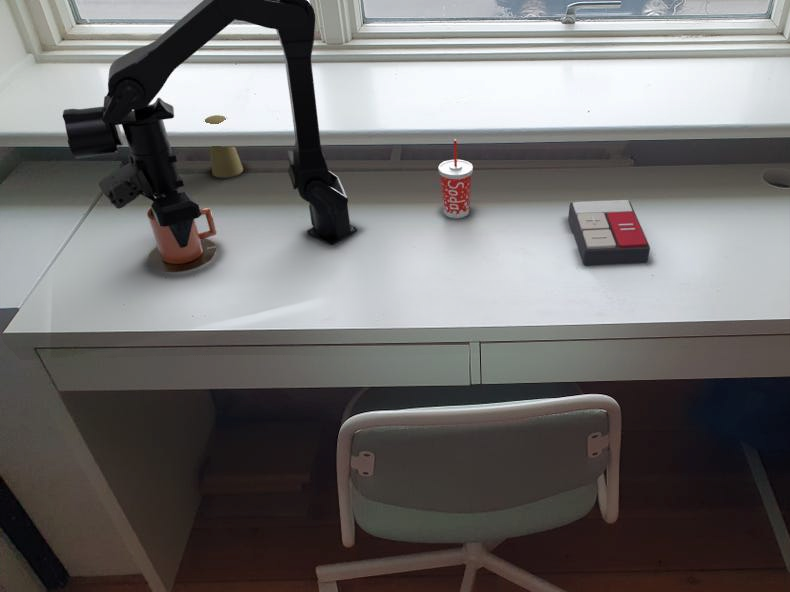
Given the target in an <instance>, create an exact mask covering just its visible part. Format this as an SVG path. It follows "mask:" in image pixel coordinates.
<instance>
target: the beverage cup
mask: <svg viewBox="0 0 790 592" xmlns="http://www.w3.org/2000/svg"><path fill="white" fill-rule="evenodd" d="M437 169H438V173H439V175H440V185H441V194H442V204H443V205H442V206H443V214H444V215H445V216H446V217H447V218H451V219H463V218H465V217H467V216H469V213H470V199H471V186H472V174H473V172H474V171H473V170H474V166H473V164H472V163H471V162H469V161H467V160H464V159H458V144H457V139H453V159H447V160H444V161H442V162H441V163H440V164H439V165H438V168H437Z"/></svg>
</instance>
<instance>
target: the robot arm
mask: <svg viewBox="0 0 790 592" xmlns="http://www.w3.org/2000/svg"><path fill="white" fill-rule="evenodd" d="M234 21H241V22H246V23H249V24H252V25H256V26H260V27H262V28H266V29H272V30H276V34H277V37H278V40H279V44H280V46H281V50H282V52H283V57H284V63H285V64H284V65H285V71H286V79H287V87H288V95H289V101H290V109H291V118H292V124H293V132H294V139H295V140H294V143H295V144H294V147H293V150H285V154H286V157H287V160H288V170H287V172H288V175H289V179H290V181H291V184H292V188H293V190H297V192H298V194H299V197H300V198H301V199H303V200H304V201H305V202H307V203H309V205H308V208H309V214H310V221H311V226H312V227H310V228H309V229H307V230H306V234H307V235H309V236H311V237H313V238H315V239H317V240H319V241H322V242H324V243H326V244H328V245H330V246H331V245H335V244H338V242H340V241H342V240H344V239H345V238H347V237H349V236H350V235H352V234H354V233H356V232H357V231H358V227H357V226H356V225H353V224H351V223H350V222H351V221H350V215H349V206H348V203H349V198H348V196H347V193H346V191H345V189H344V187H343V185H342V182H341V180H340V178H339V176H337V175H336V174H335V173H333V172H332V171H330V170H329V167H328V164H327V161H326V158H325V155H324V151H323V149H322V145H321V137H320V135H321V134H320V127H319V118H318V109H317V101H316V100H317V99H316V91H315V82H314V73H313V66H312V65H313V64H312V54H313V48H314V43H315V32H316V14H315V9H314V7H313V6H312V3H311V2H310V0H202V1H201V2H199V3H198V4H197V5H196V6H195V7H194V8H193V9H191V10H190V11H189V12H188V13H187V14H186V15H184V16H182V18H181V19H179V20H178V21H176V23H174V25H172V26H171V27H170V28H169V29H167V30H166V31H165V32H163V34H161V35H160V36H159V37H158V38H157V39H155V40H154V41H152V42H150V43H148V44H146V45H144V46H141V47H137V48H135V49H133V50H131V51H129V52H127V53H126V54H124V55H122V56H120V57H118V58H117V59H115V60H114V61H112V64H110V66H109V69H108V77H107V78H108V80H107V91H108V92H107V93H106V95H105V96H104V97H103V106H96V107H88V108H86V107H85V108H66V109H63V111H62V118H63V121H64V126H65V131H66V132H65V133H66V135H67V144H68V147H69V149H70V152H71V153H72V156H73V157H74V158H75V159H83V158H85V159H86V158H91V157H98V156H108V155H114V154H115V155H116V154H118V151H119V147H121V146H124V141H123V135H122V131H121V128H120V126H121V127H122V130H123V133H124V136H125V139H126V141H127V145H128V148H129V152H128V154H129V155H127V157H128V161H129V163H128V164H126V165H124V166H122V167H119V168H118V169H116V170H114V171H113V172H111V173H110V174H108V175H107V176H105V177H103V178H101V180H100V181H99V182H98V186H99V188H100V190H101V193H102V194H103V195H104V196H105V197H106V198H107V199H108V201H110V203H111V204H112V205H113V206H114V207H115V208H116V209H122V208H124V207H125V206H127V205H128V204H130V203H132V202H133V201H135V200H137V198H138V197H139V196H140V195H141V196H143V197H145V198H147V199H149V200H151V201H152V203H151V205H150V208H152V211H153V214H154V217H155V219H156V220H157V222H158V224H159V225H160V226H162V227H166V226H169V228H170V230H171V232H172V234H173V235H174V237H175V239H176V241H177V243H178V244H179V246H180V248H183V247H186V246H187V245H188V241H189V236H190V232H191V228H192V224H193V221H194V219H195V220H196V219H198V218H200V217H202V215H201V212H200V209H201V208H200V206H199V203H198V202H197V201H196V198H194V196H193V195H192V194H190V193H188V192H186V191H181V192H180V191H178V189H179V188H182V187H184V186H185V183H184V180H183V179H182V177H181V176H180V173H179V170H178V167H177V164H176V162H178V159H177V156H176V153H174V151H173V150H172V147H171V143H170V140H169V136H168V133H167V130H166V126H165V122H164V120H172V119H174V118H175V110H174V109H175V108H174V106H173V105H172V104H170V103H168V102H165V101H164V100H163V99H162V98H161V97H157V98H156V96H157V95H158V94H159V92H161V90H162V89H163V87H164V86H165V84H166V83H167V82H168V81H167V80H168V79H169V78H170V76H171V75H172V73H173V72H174V71H175V70H176V69H177V68H178V67H179V66H181V65H182V64H183V63H184V62H186V61H187V60H188V59H189V58H190V57H192V56H193V55H194V54H195V53H197V52H198V51H199V50H200V49H201V48H202V47H204V46H205V45H206V44H207V43H209V42H210V41H211V40H212V39H213V38H214V37H216V36H217V35H218V34H219V33H220V32H222V31H223V30H225V28H226V27H228V26H230V24H231V23H233V22H234ZM155 98H156V100H155V102H153V103H152V101H153V100H154V99H155ZM151 103H152V104H151Z"/></svg>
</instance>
